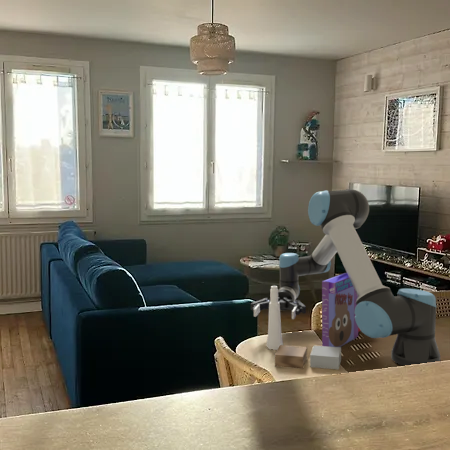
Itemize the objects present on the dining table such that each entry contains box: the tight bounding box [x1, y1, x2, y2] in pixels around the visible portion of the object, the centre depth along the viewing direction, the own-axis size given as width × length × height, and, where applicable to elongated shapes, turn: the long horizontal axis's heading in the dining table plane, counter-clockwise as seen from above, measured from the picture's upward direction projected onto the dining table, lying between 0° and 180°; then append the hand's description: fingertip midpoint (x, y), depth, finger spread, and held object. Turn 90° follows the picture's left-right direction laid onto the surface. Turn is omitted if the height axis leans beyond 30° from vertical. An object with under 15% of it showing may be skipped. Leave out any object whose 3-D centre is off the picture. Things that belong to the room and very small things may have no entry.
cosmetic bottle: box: [266, 285, 284, 351], centre depth 198 cm, size 6×6×22 cm
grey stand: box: [309, 345, 342, 370], centre depth 183 cm, size 9×9×4 cm
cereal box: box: [321, 271, 359, 348], centre depth 201 cm, size 17×5×24 cm, turn 139°
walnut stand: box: [274, 344, 308, 370], centre depth 184 cm, size 9×9×4 cm
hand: (273, 314), depth 198 cm, fingers open, 13 cm apart
